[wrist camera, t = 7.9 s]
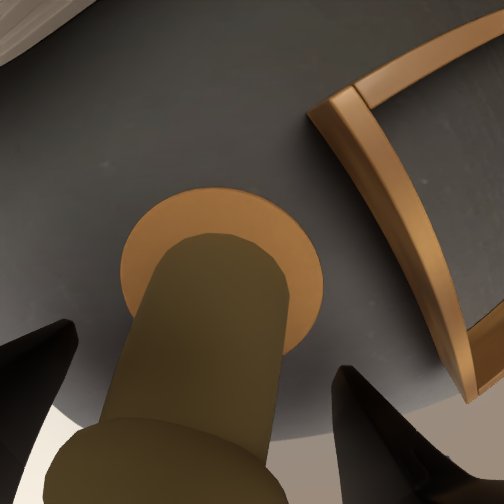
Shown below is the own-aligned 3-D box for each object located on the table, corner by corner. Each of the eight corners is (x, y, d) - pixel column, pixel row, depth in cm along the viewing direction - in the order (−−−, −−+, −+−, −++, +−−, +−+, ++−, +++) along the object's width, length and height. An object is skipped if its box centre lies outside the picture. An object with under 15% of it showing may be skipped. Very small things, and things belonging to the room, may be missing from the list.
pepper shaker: (307, 250, 11) (391, 583, 1) (270, 362, 14) (268, 590, 3) (156, 218, 11) (-61, 463, 1) (150, 336, 13) (60, 542, 3)
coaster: (356, 307, 13) (359, 312, 12) (210, 386, 15) (209, 391, 15) (235, 139, 10) (234, 139, 10) (90, 268, 13) (86, 272, 12)
